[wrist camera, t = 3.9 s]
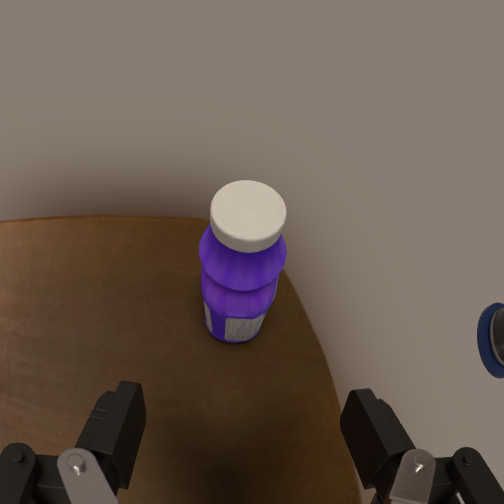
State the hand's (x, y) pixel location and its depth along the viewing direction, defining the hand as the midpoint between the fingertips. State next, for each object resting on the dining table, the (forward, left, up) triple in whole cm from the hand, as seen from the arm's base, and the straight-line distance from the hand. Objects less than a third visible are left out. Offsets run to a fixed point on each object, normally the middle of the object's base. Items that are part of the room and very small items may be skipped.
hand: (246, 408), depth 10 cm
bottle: (0, -10, -18) cm, 21 cm away
